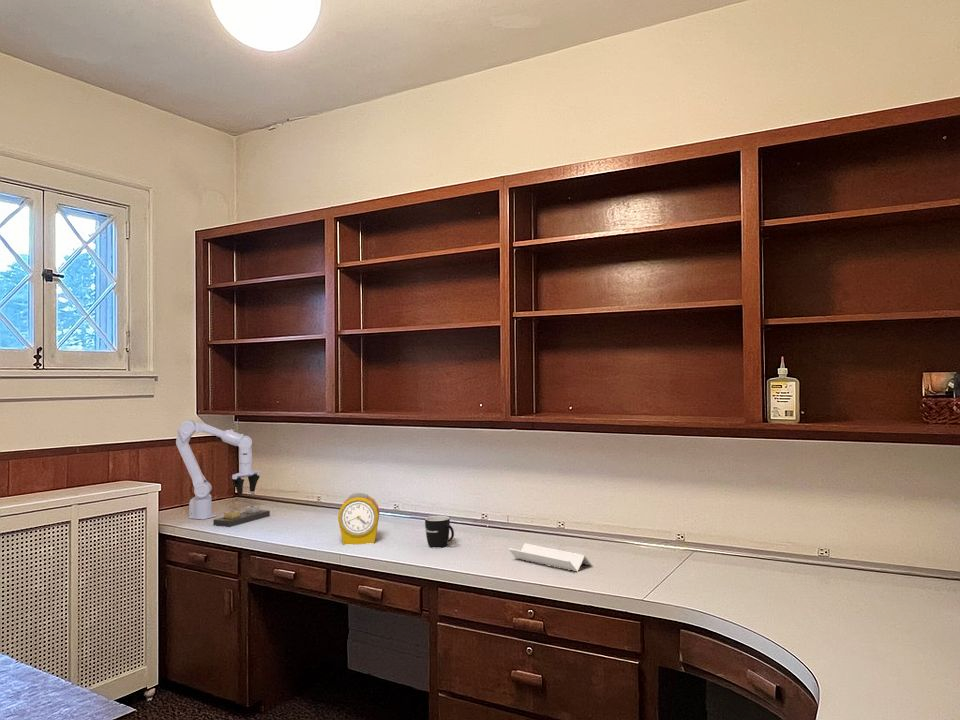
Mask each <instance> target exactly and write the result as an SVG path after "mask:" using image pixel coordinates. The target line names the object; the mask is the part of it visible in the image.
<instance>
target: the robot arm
mask: <svg viewBox="0 0 960 720" xmlns="http://www.w3.org/2000/svg"><path fill="white" fill-rule="evenodd" d="M195 433H196V434H200V433H205V434H210V435H211V436H216V437H217V438H220V439H221V441H222V442H223V443H226V444H229V445H231V446H235V447H238V448H239V452H238V470H239V471H238V472H237V473H234V474H232V476H231V481H232V483H233V484H234V486H235V490H236V493H237V495H243V488H244V482H245V479H244V478H248V479H247V480H248V484H249V492H251V493H254V492H256V487H257V483H258V481H259V479H260V470H258V469H256V470H253V451H252V450H253V448H252V446H253V440H252V438H251V437H250V436H248V435H244V433H239V432H236V431H234V429H232V428H230V429H226V430H222V429H219V428H217V427H215V426H212V425H209V424H207V423H205V422H202V421H198V420H194V419H186V420H185V421H183V422H182V423H181V424H180V426H179V427H178V428H177V434H176V440H175V444H176V445H175V446H176V447H177V449H178V452H179V454H180V456H181V458H182V460H183V462H184V465H185V467H186V470H187V471H188V473H189V477H190V478H191V481H192V485H193V488H194V489H193V491H194V493H193V494H194V495H195V496H193V497H192V498H191V499H190V500H189V504H188V507H189V509H188V510H189V511H188V513H189V515H188V517H187V518H188V519H196V520H206V519H207V520H208V519H210V518H214V517H217V515H216V514H213V505H212V504H213V502H212V501H213V500H212V499H213V498H212V494H210V493H211V491H212V490H213V489H212V484H211V483H210V481H208V480H207V479H206V477H205V475H204V474H203V473H202V470H201V467H200V465H199V463H198V460H197V459H196V457H195V454H194V453H193V450H192V448H191V446H190V444H189V443H190V440H191V438H192V436H193V435H194V434H195Z"/></svg>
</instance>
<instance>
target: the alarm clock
mask: <svg viewBox="0 0 960 720" xmlns="http://www.w3.org/2000/svg"><path fill="white" fill-rule="evenodd" d="M379 518H380V508H379V505H378V503H377V502H376V500H375V498H374V497H372V496H369V495H368V494H367V493H361V492H356V493H352V494H350V495H349V497H348V498H346V499H345V501H344V502H343V503H342V505H341V507H340V508H339V510H338V516H337V520H338V525H339V530H340V535H341V540H342V544H343V546H346V545H345V544H353V545H367V544H366V543H374V542H376V538H377V537H376V536H377V529H378V526H379ZM374 544H375V543H374Z"/></svg>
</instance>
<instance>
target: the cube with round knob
mask: <svg viewBox="0 0 960 720" xmlns="http://www.w3.org/2000/svg"><path fill="white" fill-rule="evenodd" d="M260 507H261V506H260V505H249V506H245V507H244V512H245V513H246V514H255V513H259V512H260V510H261V509H260Z"/></svg>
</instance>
